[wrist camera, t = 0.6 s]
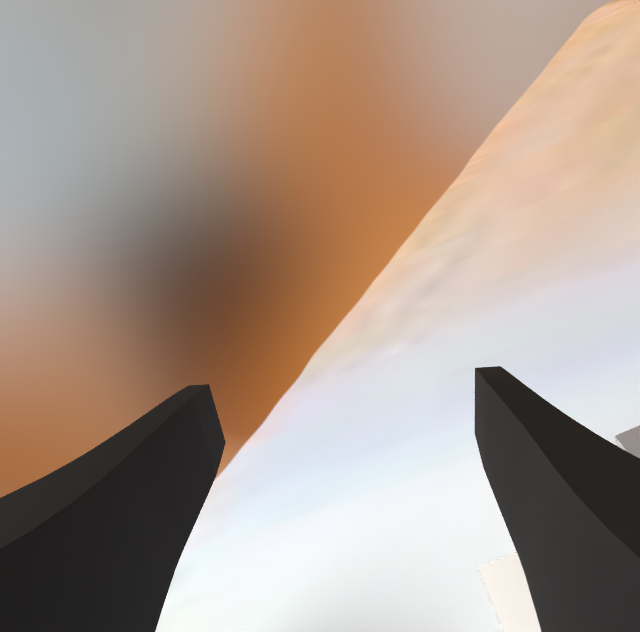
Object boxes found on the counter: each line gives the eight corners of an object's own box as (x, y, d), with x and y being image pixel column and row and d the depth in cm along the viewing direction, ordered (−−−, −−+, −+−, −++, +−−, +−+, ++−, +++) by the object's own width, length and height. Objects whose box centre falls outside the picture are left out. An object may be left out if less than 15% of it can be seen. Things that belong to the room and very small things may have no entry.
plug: (710, 670, 16) (725, 667, 12) (567, 709, 17) (538, 717, 13) (628, 548, 19) (618, 513, 15) (513, 589, 21) (476, 566, 17)
